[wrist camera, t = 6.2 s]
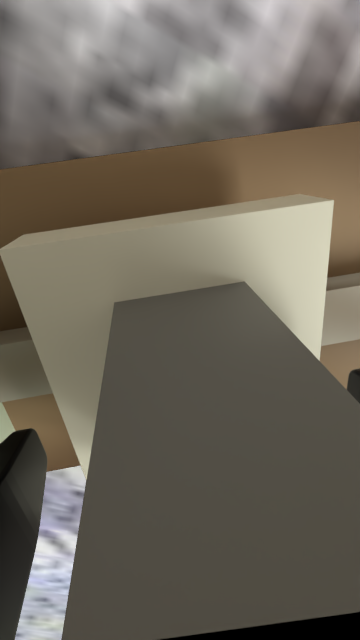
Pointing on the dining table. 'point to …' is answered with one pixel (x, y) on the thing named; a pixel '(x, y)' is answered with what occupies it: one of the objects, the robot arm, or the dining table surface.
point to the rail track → (168, 197)
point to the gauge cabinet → (5, 424)
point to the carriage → (201, 422)
